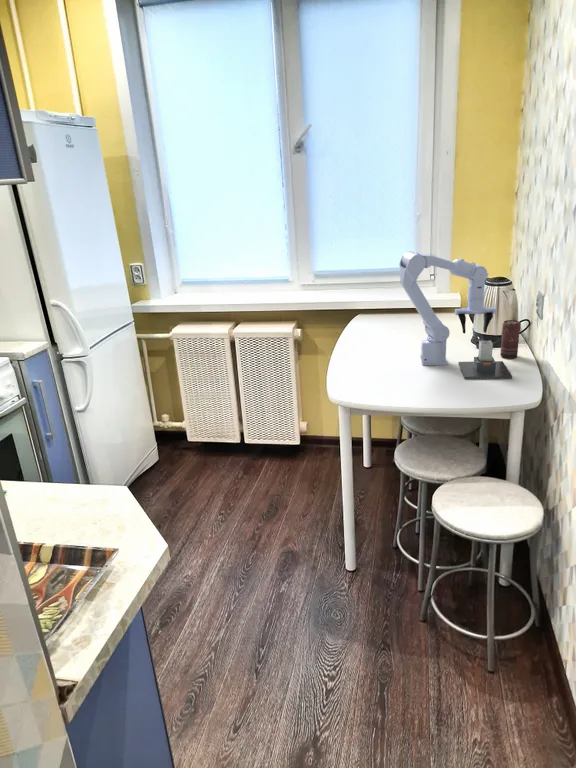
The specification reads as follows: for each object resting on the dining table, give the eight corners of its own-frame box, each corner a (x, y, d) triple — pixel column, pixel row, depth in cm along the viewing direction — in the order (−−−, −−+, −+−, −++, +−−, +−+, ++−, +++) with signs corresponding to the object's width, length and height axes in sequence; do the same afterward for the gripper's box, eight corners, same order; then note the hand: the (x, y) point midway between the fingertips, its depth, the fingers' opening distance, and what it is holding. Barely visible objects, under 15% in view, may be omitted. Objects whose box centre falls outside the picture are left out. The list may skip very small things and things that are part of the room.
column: (479, 364, 202) (480, 344, 199) (477, 360, 206) (478, 340, 203) (491, 364, 201) (493, 343, 198) (489, 360, 205) (491, 340, 202)
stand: (464, 379, 198) (465, 367, 197) (458, 364, 213) (458, 353, 212) (511, 379, 196) (513, 366, 194) (502, 363, 211) (503, 352, 209)
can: (519, 359, 214) (522, 323, 209) (501, 359, 215) (504, 323, 210) (516, 354, 219) (519, 319, 214) (499, 354, 221) (501, 319, 216)
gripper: (457, 300, 208) (456, 335, 212) (498, 298, 205) (496, 334, 210) (454, 296, 214) (453, 330, 219) (494, 294, 212) (492, 329, 217)
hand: (474, 332), depth 215 cm, fingers open, 7 cm apart
